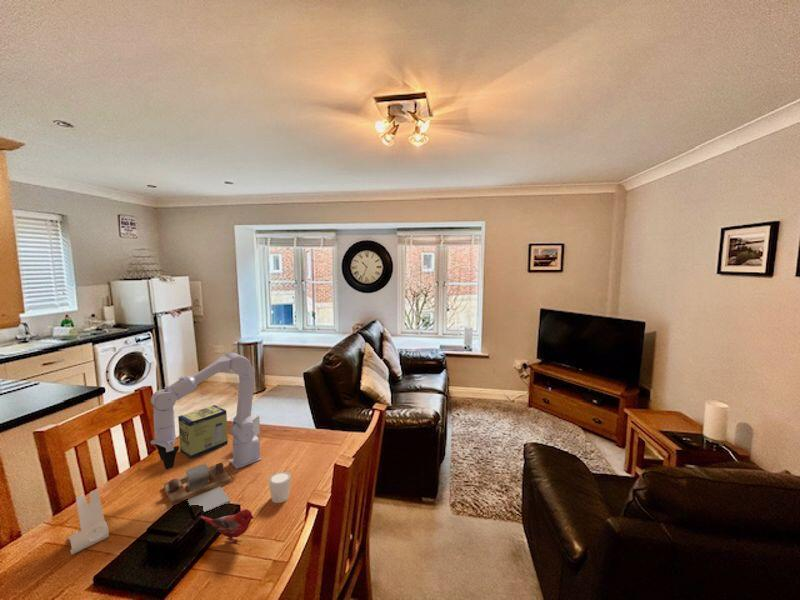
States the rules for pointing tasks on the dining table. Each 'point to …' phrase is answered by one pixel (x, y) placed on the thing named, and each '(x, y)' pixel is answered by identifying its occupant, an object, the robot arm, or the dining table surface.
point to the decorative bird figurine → (231, 524)
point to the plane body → (179, 494)
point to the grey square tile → (210, 499)
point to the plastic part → (89, 523)
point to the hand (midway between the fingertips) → (167, 463)
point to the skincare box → (256, 425)
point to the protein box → (202, 431)
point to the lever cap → (197, 477)
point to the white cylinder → (279, 487)
